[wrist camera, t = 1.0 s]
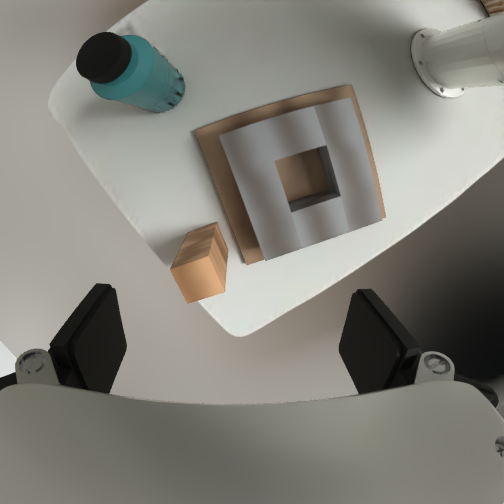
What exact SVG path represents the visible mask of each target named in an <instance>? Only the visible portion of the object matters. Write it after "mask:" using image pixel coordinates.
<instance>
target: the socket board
mask: <svg viewBox="0 0 504 504" xmlns="http://www.w3.org/2000/svg"><path fill="white" fill-rule="evenodd" d="M195 134H196V136H197V139H198V142H199V144H200V147H201V149H202V152H203V155H204V157H205V160H206V162H207V165H208V168H209V170H210V173H211V175H212V178H213V181H214V183H215V186H216V188H217V191H218V193H219V196H220V199H221V201H222V204H223V206H224V209H225V211H226V214H227V216H228V219H229V222H230V224H231V227H232V229H233V232H234V234H235V237H236V239H237V242H238V244H239V247H240V249H241V252H242V254H243V257H244V260H245V262H246V265H249V264H252V263H255V262H258V261H261V260H264V259H265V261H267V260H270V259H273V258H275V257H278V256H281V255H284V254H287V253H290V252H293V251H296V250H299V249H302V248H305V247H308V246H311V245H313V244H316V243H319V242H322V241H325V240H328V239H331V238H334V237H336V236H339V235H342V234H345V233H348V232H351V231H354V230H357V229H359V228H362V227H365V226H368V225H371V224H374V223H376V222H379V221H382V219H383V218H385V217H386V215H385V209H384V204H383V198H382V193H381V188H380V184H379V179H378V175H377V170H376V166H375V162H374V158H373V154H372V150H371V146H370V142H369V139H368V135H367V131H366V128H365V124H364V121H363V118H362V115H361V111H360V108H359V105H358V102H357V99H356V96H355V93H354V90H353V87H352V85H347V86H341V87H337V88H332V89H327V90H323V91H318V92H314V93H310V94H306V95H302V96H298V97H294V98H290V99H287V100H283V101H280V102H276V103H273V104H269V105H266V106H263V107H260V108H256V109H253V110H250V111H247V112H244V113H241V114H238V115H235V116H232V117H230V118H227V119H224V120H221V121H218V122H216V123H213V124H210V125H208V126H205V127H203V128H200V129H198V130H195Z"/></svg>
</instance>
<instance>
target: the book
mask: <svg viewBox="0 0 504 504" xmlns="http://www.w3.org/2000/svg"><path fill="white" fill-rule="evenodd" d="M481 1H482V3H483V5H484V6H485V8H486V10H487V12H488V14H489V15H490V17H492V16H496V15H500V14H503V13H504V0H481Z"/></svg>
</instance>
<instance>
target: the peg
mask: <svg viewBox="0 0 504 504" xmlns="http://www.w3.org/2000/svg"><path fill="white" fill-rule="evenodd" d="M227 258H228V248H227V246H226V243H225V241H224V238H223V236H222V233H221V231H220V228H219V226H218V223H217V222H216V223H213V224H210V225H207V226H205V227H202V228H199V229H197V230H194V231H191V232H189V233H188V234H187V236H186V238H185V240H184V242H183V244H182V246H181V248H180V250H179V252H178V254H177V256H176V258H175V260H174V262H173V264H172V266H171V268H170V271H171V273H172V275H173V277H174V278H175V280H176V282H177V284H178V286H179V288H180V290H181V292H182V294H183V296H184V298H185V300H186V302H187V303H191V302H195V301H198V300H201V299H204V298H207V297H211V296H214V295H217V294H220V293H223V292H225V283H226V270H227Z"/></svg>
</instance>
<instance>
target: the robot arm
mask: <svg viewBox="0 0 504 504" xmlns="http://www.w3.org/2000/svg"><path fill="white" fill-rule="evenodd" d="M411 54H412V59H413V62H414V65H415V68H416V70H417V72H418V74H419V75H420V77H421V79H422V80H423V81H424V83H425V84H426V85H427V86H428V87H429V88H430V89H431V90H432V91H433V92H435V93H436V94H438V95H440V96H442V97H445V98H457V97H459V96H461V95H462V94H463V93H464V92H465V91H466V89H467V88H470V87H485V86H504V13H503V14H500V15H496V16H492V17H488V18H485V19H481V20H478V21H475V22H471V23H468V24H465V25H462V26H459V27H456V28H453V29H450V30H447V31H444V32H441V31H438V30H436V29H424V30H421V31H419V32H418V33H416V35H415V36H414V38H413V40H412V44H411ZM126 348H127V344H126V339H125V334H124V330H123V325H122V321H121V316H120V311H119V305H118V300H117V294H116V290H115V288H112V287H111V285H110V284H100V283H99V284H98V283H97V284H96V285H94V287H93V288H92V289H91V290H90V292H89V293H88V294H87V295H86V297H85V298H84V299H83V300H82V301H81V303H80V304H79V305H78V307H77V308H76V309H75V310H74V312H73V313H72V314H71V316H70V317H69V318H68V320H67V321H66V322H65V323H64V325H63V326H62V328H61V329H60V330H59V332H58V333H57V334H56V336H55V337H54V339H53V340H52V341H51V343H50V349H49V350H48V352H47V351H45V350H43V349H31V350H28V351H26V352H24V353H23V354H21V355H20V356H19V358H18V359H17V361H16V363H15V370H16V372H14V373H12V374H9V375H6V376H4V377H1V378H0V504H504V402H501V403H500V404H498V397H497V394H496V393H495V392H494V390H493V389H492V388H491V387H489V386H486V385H484V384H481V383H478V382H475V381H472V380H469V379H466V378H464V377H461V376H458V375H455V374H454V365H453V363H452V361H451V360H450V359H449V358H448V357H446V356H445V355H443V354H441V353H439V352H426V353H424V354H423V355H421V354H420V353H419V351H420V349H421V347H420V345H419V344H418V343H417V341H416V340H415V339H414V338H413V337H412V335H411V334H410V333H409V332H408V331H407V329H406V328H405V327H404V326H403V325H402V323H401V322H400V321H399V320H398V319H397V317H396V316H395V315H394V314H393V313H392V312H391V311H390V310H389V308H388V307H387V306H386V305H385V304H384V302H383V301H382V300H381V299H380V298H379V297H378V296H377V294H376V293H375V292H374V291H373V290H372V289H358V290H357V291H356V293H353V294H352V297H351V301H350V305H349V310H348V313H347V318H346V321H345V325H344V329H343V333H342V337H341V340H340V343H339V353H340V355H341V357H342V360H343V362H344V364H345V365H346V368H347V370H348V372H349V374H350V376H351V378H352V380H353V382H354V385H355V387H356V389H357V391H358V393H359V394H357V395H350V396H344V397H336V398H328V399H320V400H310V401H298V402H286V403H264V404H204V403H185V402H170V401H158V400H149V399H141V398H133V397H126V396H119V395H112V394H109V393H110V390H111V388H112V385H113V382H114V380H115V377H116V375H117V372H118V370H119V367H120V364H121V362H122V360H123V357H124V355H125V352H126Z"/></svg>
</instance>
